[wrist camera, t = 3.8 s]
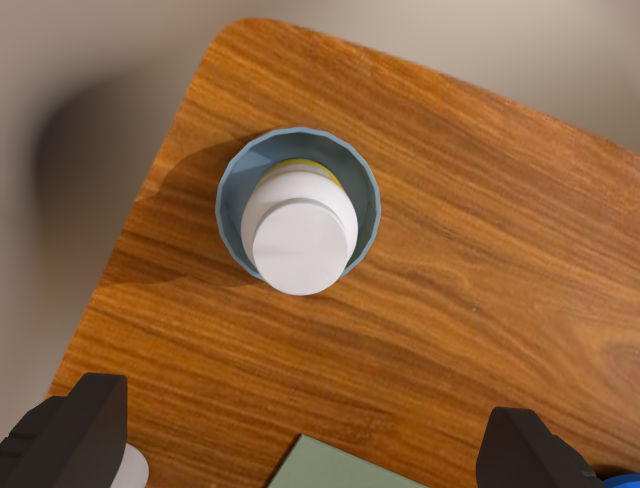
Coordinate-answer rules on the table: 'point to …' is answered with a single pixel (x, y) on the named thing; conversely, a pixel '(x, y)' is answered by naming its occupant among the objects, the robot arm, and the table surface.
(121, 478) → the beverage can
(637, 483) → the vase
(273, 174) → the pill bottle
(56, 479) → the robot arm
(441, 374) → the table surface
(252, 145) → the grey-blue round dish
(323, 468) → the mat
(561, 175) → the table surface
